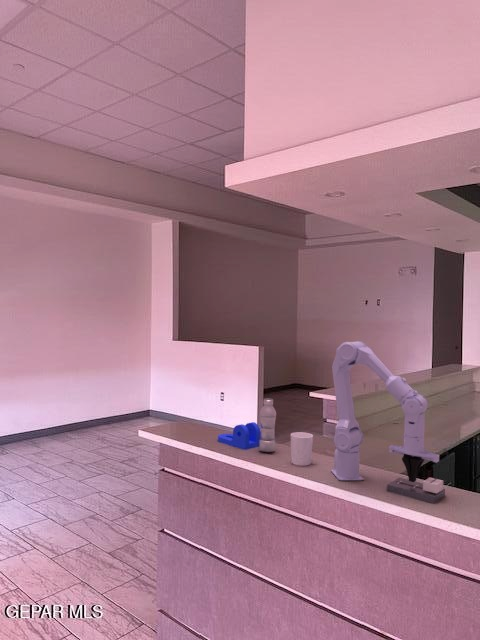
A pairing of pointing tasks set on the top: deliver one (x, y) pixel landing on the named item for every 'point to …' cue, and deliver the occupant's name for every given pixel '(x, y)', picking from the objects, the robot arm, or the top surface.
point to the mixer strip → (414, 490)
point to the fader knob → (433, 485)
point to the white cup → (301, 448)
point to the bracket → (242, 436)
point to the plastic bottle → (267, 427)
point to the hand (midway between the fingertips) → (412, 480)
